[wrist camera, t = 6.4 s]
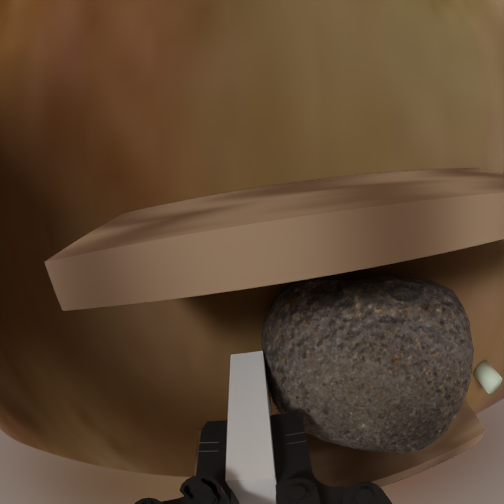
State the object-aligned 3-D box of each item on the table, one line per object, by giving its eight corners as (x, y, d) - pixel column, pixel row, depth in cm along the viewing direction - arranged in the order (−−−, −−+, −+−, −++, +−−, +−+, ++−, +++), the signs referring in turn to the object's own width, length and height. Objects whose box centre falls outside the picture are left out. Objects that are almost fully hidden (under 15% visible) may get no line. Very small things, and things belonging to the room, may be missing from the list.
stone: (267, 353, 19) (363, 457, 14) (196, 355, 12) (348, 525, 7) (369, 248, 19) (474, 347, 14) (360, 183, 11) (537, 345, 6)
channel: (204, 440, 17) (198, 512, 12) (121, 213, 12) (44, 261, 6) (442, 389, 17) (477, 443, 11) (477, 168, 12) (561, 188, 6)
